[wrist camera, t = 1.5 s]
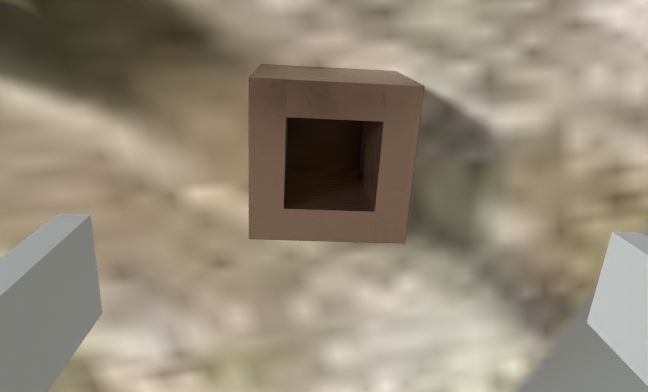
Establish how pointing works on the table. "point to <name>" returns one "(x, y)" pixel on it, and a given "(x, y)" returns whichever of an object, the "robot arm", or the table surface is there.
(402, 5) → the table surface
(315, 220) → the link
